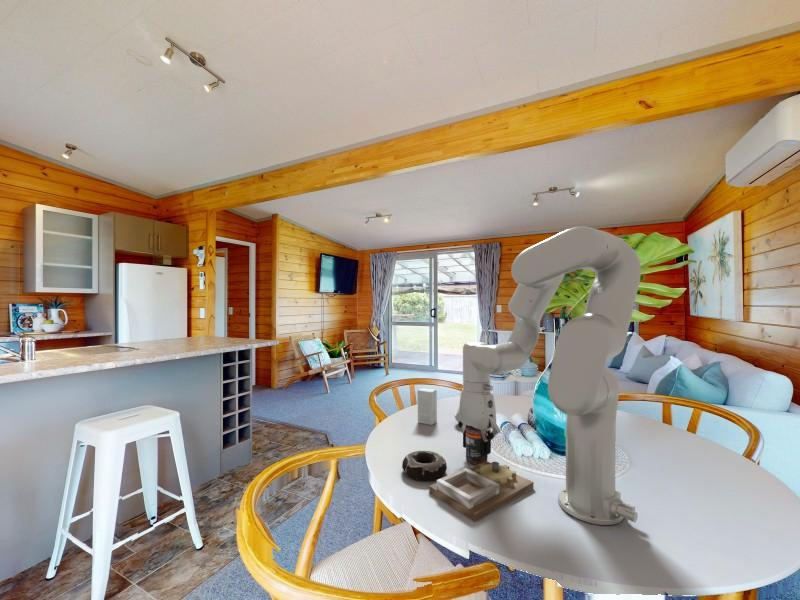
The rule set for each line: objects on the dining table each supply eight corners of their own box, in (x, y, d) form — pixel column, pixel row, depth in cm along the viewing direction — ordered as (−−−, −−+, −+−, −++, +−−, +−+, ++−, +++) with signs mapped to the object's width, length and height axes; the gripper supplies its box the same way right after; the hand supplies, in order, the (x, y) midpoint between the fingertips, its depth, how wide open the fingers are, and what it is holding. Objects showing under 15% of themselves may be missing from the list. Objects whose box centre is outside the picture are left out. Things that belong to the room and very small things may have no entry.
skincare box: (437, 422, 132) (437, 389, 132) (431, 425, 128) (431, 392, 128) (422, 419, 135) (422, 387, 135) (417, 422, 131) (417, 390, 131)
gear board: (533, 488, 86) (533, 467, 86) (475, 521, 73) (475, 497, 73) (486, 466, 97) (486, 448, 97) (429, 492, 84) (429, 471, 84)
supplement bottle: (485, 456, 103) (485, 417, 103) (489, 466, 97) (489, 424, 97) (464, 455, 103) (464, 416, 103) (466, 465, 97) (466, 424, 97)
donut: (400, 463, 99) (400, 449, 99) (442, 461, 100) (442, 447, 100) (404, 485, 88) (404, 468, 88) (451, 483, 88) (451, 467, 88)
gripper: (510, 390, 96) (510, 457, 96) (462, 379, 109) (462, 437, 109) (493, 395, 91) (493, 465, 91) (445, 382, 105) (445, 443, 105)
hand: (476, 449), depth 100 cm, fingers closed on supplement bottle, 6 cm apart
